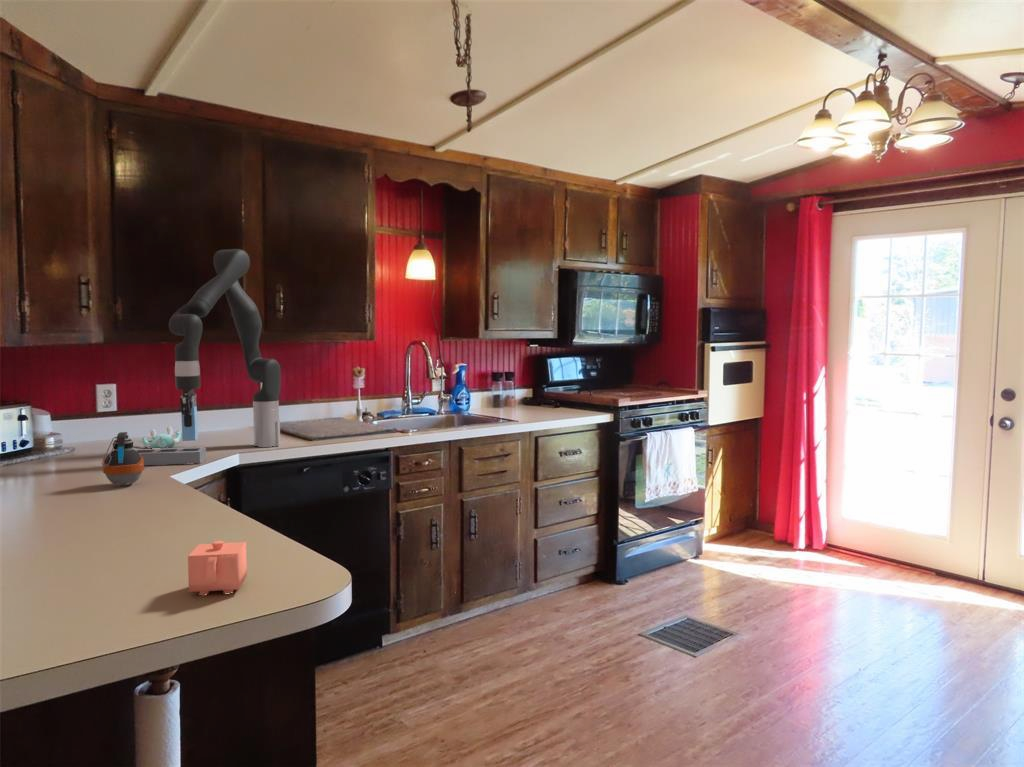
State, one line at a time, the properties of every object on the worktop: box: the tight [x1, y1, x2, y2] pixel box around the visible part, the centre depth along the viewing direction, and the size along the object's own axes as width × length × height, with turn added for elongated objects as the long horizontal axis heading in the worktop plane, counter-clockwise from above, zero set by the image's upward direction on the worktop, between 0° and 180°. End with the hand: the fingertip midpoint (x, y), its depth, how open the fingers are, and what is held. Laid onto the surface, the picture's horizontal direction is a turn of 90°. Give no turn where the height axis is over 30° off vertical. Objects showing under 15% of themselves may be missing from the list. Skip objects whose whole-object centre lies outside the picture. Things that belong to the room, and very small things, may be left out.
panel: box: [134, 446, 207, 466], centre depth 236 cm, size 22×10×4 cm, turn 103°
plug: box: [180, 405, 199, 442], centre depth 237 cm, size 4×4×11 cm
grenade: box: [101, 431, 145, 487], centre depth 200 cm, size 11×10×15 cm
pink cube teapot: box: [187, 540, 248, 595], centre depth 120 cm, size 8×12×8 cm, turn 10°
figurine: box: [142, 426, 182, 449], centre depth 271 cm, size 13×6×30 cm
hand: (189, 425), depth 237 cm, fingers closed on plug, 4 cm apart
